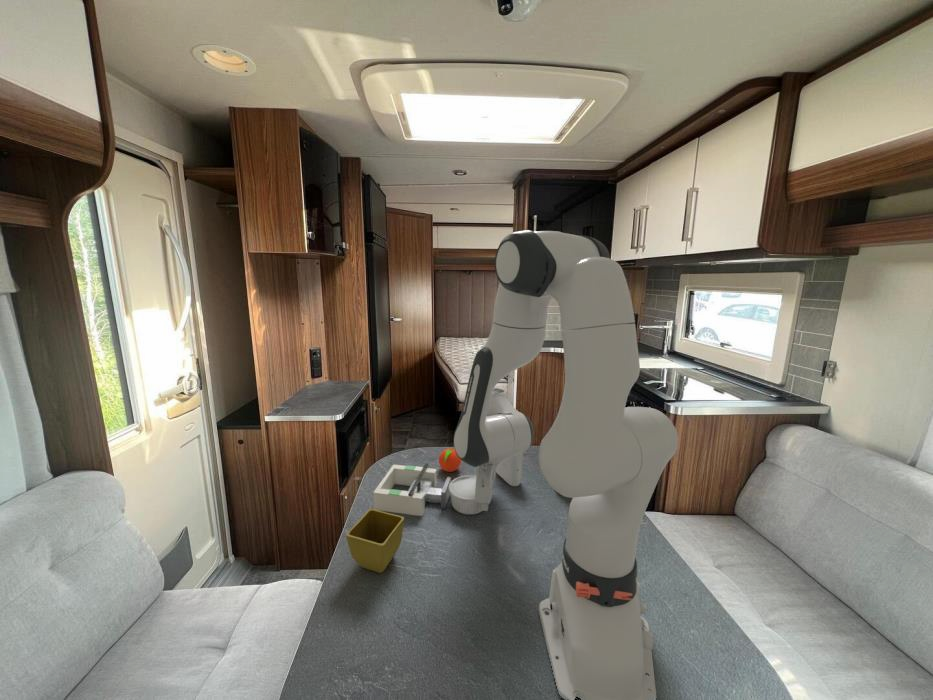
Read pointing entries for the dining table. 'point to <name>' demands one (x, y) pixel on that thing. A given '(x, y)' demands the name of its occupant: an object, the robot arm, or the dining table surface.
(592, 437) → the robot arm
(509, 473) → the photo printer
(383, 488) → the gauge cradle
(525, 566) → the dining table surface
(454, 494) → the ramekin
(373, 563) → the flower pot
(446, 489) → the grey metal pieces
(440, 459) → the red tomato
